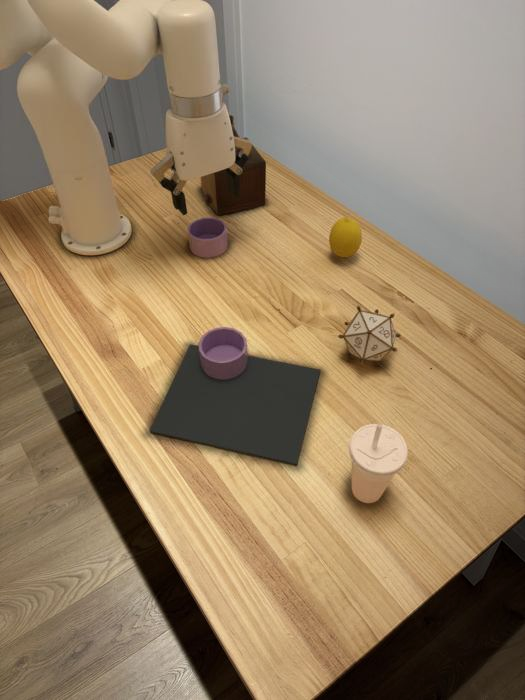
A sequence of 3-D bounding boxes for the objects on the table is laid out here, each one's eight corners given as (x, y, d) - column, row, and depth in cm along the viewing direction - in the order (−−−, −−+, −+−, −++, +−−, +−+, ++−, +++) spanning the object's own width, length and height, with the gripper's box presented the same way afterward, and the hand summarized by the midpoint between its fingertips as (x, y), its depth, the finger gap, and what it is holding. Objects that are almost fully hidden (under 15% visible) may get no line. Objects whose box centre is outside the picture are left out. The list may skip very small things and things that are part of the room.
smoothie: (336, 468, 70) (349, 402, 59) (386, 464, 70) (407, 398, 60) (345, 516, 66) (361, 453, 55) (399, 511, 66) (424, 449, 55)
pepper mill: (197, 189, 112) (187, 101, 99) (248, 178, 115) (245, 90, 102) (222, 232, 103) (215, 140, 89) (277, 219, 105) (278, 127, 92)
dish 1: (184, 254, 98) (182, 237, 96) (197, 232, 103) (195, 214, 100) (221, 260, 97) (219, 243, 94) (232, 237, 102) (231, 220, 99)
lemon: (358, 247, 99) (364, 209, 93) (358, 267, 96) (365, 229, 90) (327, 245, 100) (331, 208, 94) (326, 265, 96) (331, 227, 90)
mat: (149, 432, 73) (149, 430, 73) (190, 346, 84) (189, 344, 83) (296, 466, 70) (297, 464, 70) (320, 371, 80) (320, 369, 80)
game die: (372, 364, 86) (420, 323, 81) (364, 391, 79) (415, 347, 74) (330, 326, 85) (375, 282, 80) (317, 349, 78) (366, 302, 73)
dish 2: (194, 374, 79) (192, 357, 77) (209, 340, 84) (207, 323, 81) (240, 383, 78) (239, 366, 75) (252, 349, 83) (252, 331, 80)
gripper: (236, 77, 85) (242, 177, 98) (130, 105, 80) (151, 207, 92) (260, 94, 81) (263, 197, 94) (150, 125, 75) (169, 229, 88)
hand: (207, 202), depth 93 cm, fingers open, 9 cm apart
